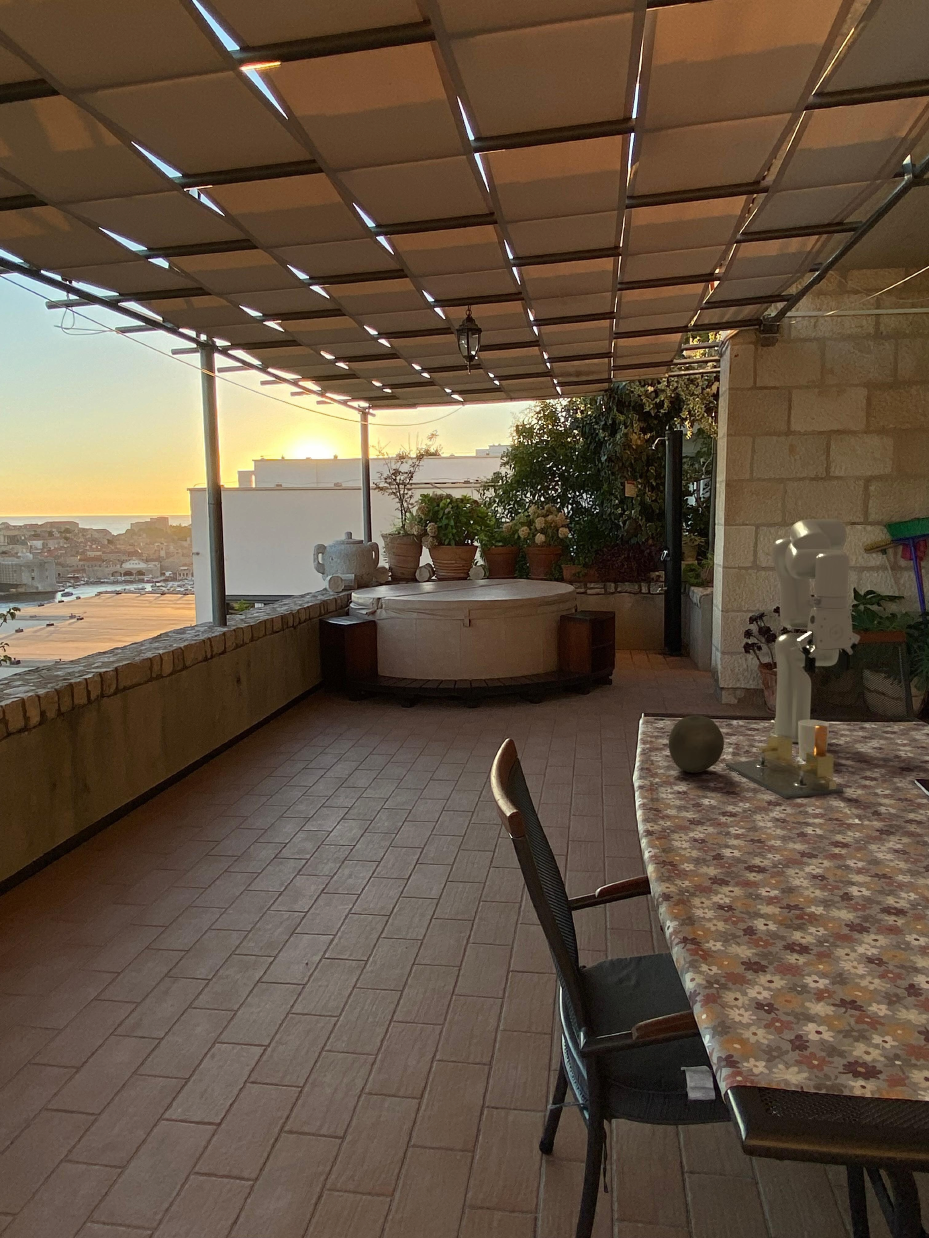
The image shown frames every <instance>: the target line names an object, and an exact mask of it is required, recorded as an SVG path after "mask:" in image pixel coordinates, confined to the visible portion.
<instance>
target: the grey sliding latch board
mask: <svg viewBox="0 0 929 1238" xmlns="http://www.w3.org/2000/svg"><path fill="white" fill-rule="evenodd" d="M793 743H794V742H793V740H791V739H788V738H786V737H783V736H777V737H771V736H770V737H769V736H768V737H767V746H758V752H760V753H761V755H760V756H761V757H760V759H756V760H747V761H746V760H745V761H736V762H735V761H733V762H726V763H724V764H725V765H724V766H726V767H729V768H730V769H732V770H734V771H736V772H738V773H739V774H738V773H737V774H738V775H740V774H741V775H740V776H742V775H743V776H742V777H744V776H745V777H746V778H745V777H744V778H745V779H747V778H748V780H749V779H750V780H749V781H751V780H752V781H751V782H753V783H755V784H757V785H759V786H761V787H763V788H765V789H767V790H768V791H770V792H773V793H774V794H776V795H778V796H780V797H781V798H784V799H792V798H793V799H794V798H802V797H810V796H811V797H812V796H819V795H821V796H822V795H828V794H829V795H830V794H836V793H838V794H839V793H844V787H842V786H839V785H838V784H837V780H836V779H833V778H831V777H830V776H825V777H816V776H813V775H811V774H809V773H807V772H806V770H804V779H803V783H799V780H800V769H797V764H799V763H798V762H795V761H793V760H792V759H793ZM726 767H725V768H726ZM730 769H729V770H730ZM732 770H731V771H732ZM734 771H733V772H734ZM736 772H735V773H736Z"/></svg>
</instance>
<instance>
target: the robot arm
mask: <svg viewBox="0 0 929 1238" xmlns="http://www.w3.org/2000/svg"><path fill="white" fill-rule="evenodd" d="M847 533H848V532H847V529H846V526H845V524H844V522H842V521H841V520H839V519H835V518H824V519H822V518H821V519H820V518H818V519H817V518H816V519H815V518H814V519H813V518H812V519H811V518H810V519H802V520H799V521H796V522H795V523H794V524H793V525H792V526H791V528H790V530H789V537H783V538H779V539H777V540H776V541H775V542H774V543H773V545H772V562H773V567H774V569H775V572H776V575H777V578H778V581H779V617H780V618H779V619H780V623H781V625H782V626H783V627H784V628H787V629H794V630H795V629H796V630H799V629H800V630H806V631H807V633H797V632H794V633H793V632H792V633H785V634H782V635H780V636H778V637H777V638H776V640H775V643H774V652H775V660H776V661H775V662H776V701H775V703H776V704H775V706H776V707H775V718H774V720H773V719H771V720H770V724H771V725H773V729H772V730H770V731H769V736H770V737H777V736H783V737H786V738H788V739H791V740H793V743H799V740H798V722H799V721H801V720H811V701H812V699H811V697H812V680H811V677H810V676H809V674H815V673H816V667H829V666H834V665H836V664H837V662H838V669H839V670H843V671H850V664H851V663H850V662H851V655H853V653H854V651H855V649H856V648H857V646H858V645H857V644H858V643H859V641H860V639H861V636H860V635H859V634H857V633H855V632H853V622H852V620H853V619H852V614H851V610H850V608H849V607H848V606H847V605H848V594H849V592H848V590H849V574H850V565H851V564H850V563H851V562H850V557H849V555H848V554H847V553H846V551H844V550H843V549H844V547H845V545H846V542H847V536H848V534H847ZM811 580H814V590H813V591H814V592H813V596H812V595H811ZM839 651H840V652H839ZM803 667H804V669H803ZM808 673H809V674H808Z"/></svg>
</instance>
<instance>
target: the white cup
mask: <svg viewBox="0 0 929 1238" xmlns="http://www.w3.org/2000/svg"><path fill="white" fill-rule="evenodd" d="M815 725H824V726H827V745H828V743H829V742H828V741H829V734H830V733H829V731H830V723H829V722H827V721H823V720H819V719H818V720H817V719H810V720H801V721H799V722H798V740H799V742H798V748H799V749H798V757H799V759H801V760H803V761H806V753H807V752H814V738H815ZM827 750H828V747H827V748H826V751H827Z"/></svg>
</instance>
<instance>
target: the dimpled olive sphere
mask: <svg viewBox="0 0 929 1238" xmlns="http://www.w3.org/2000/svg"><path fill="white" fill-rule="evenodd" d="M724 747H725V739H724V736H723V734H722V731H721V730H720V727H719V726H718V725H717V723H716V722H715V721H714V720H713V719H712V718H709V717H707V716H703V715H688V716H685V717H683V718H681V719H679V720H678V721H677V722H676V723H675V724H674V726H673V727H672V729H671V731H670V734H669V737H668V750H669V755H670V756H671V759H672V761H673V762H674V764H675V765H676V767H677V768H678V769H680V770H681V771H683V772H685V771H686V773H689V772H691V774H696V773H702V772H705V771H707V770H708V769H710V768H711V767H713V766H714V765H716V763H718V761H719V760H720V759H721V757H722V754H723V751H724Z"/></svg>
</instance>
